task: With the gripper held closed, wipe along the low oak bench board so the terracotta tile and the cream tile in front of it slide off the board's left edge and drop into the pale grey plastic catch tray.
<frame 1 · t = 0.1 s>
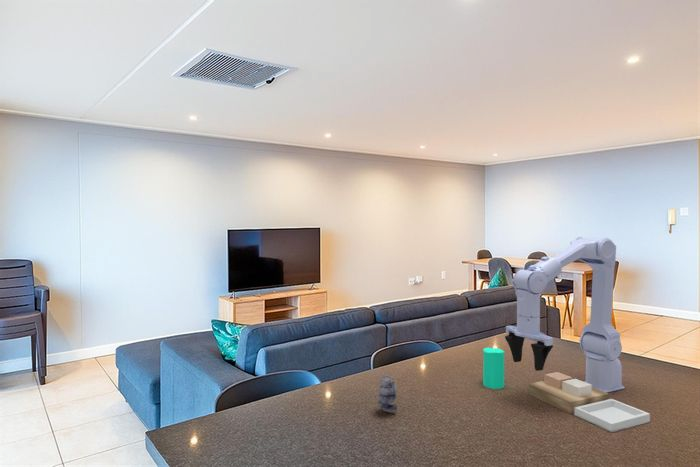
hand: (527, 365, 121), 10 cm above the counter, fingers open, 7 cm apart
grey stone figurine: (387, 413, 115), on the counter
catch tray: (611, 418, 111), on the counter
terracotta tile: (558, 384, 126), point 3 cm above the counter, touching bench board
bench board: (567, 399, 123), on the counter
cream tile: (576, 392, 120), point 3 cm above the counter, touching bench board
candle: (493, 385, 134), on the counter
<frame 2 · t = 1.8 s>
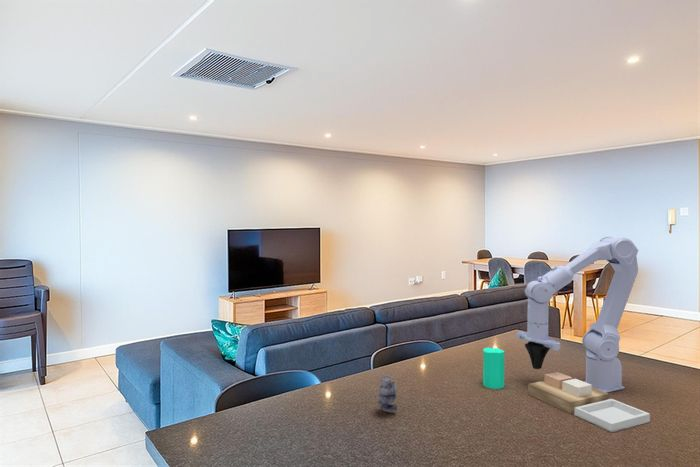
hand: (537, 368, 133), 5 cm above the counter, fingers closed
nothing on the counter moved.
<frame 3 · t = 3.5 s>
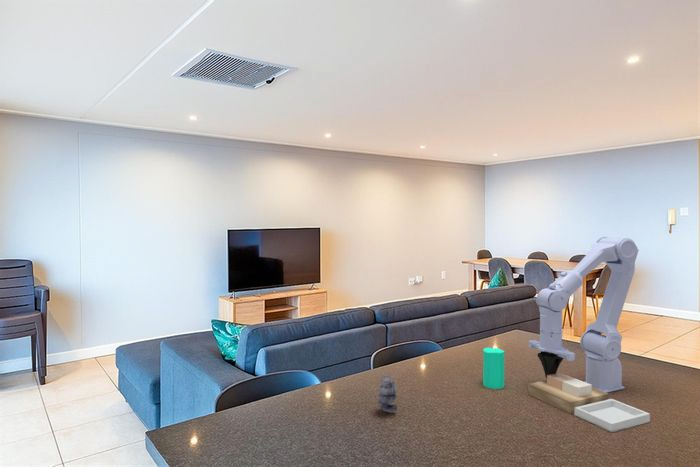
hand: (550, 378, 128), 4 cm above the counter, fingers closed
terracotta tile: (560, 385, 125), point 3 cm above the counter, touching bench board, gripper
everything else where it was.
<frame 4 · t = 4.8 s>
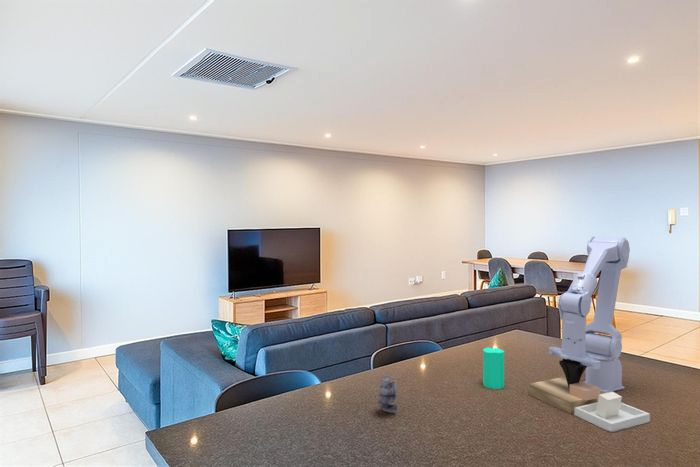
hand: (572, 387, 121), 4 cm above the counter, fingers closed
terracotta tile: (584, 395, 118), point 3 cm above the counter, touching bench board, gripper
cream tile: (604, 402, 113), point 3 cm above the counter, tilted 100°, touching catch tray
everything else where it was.
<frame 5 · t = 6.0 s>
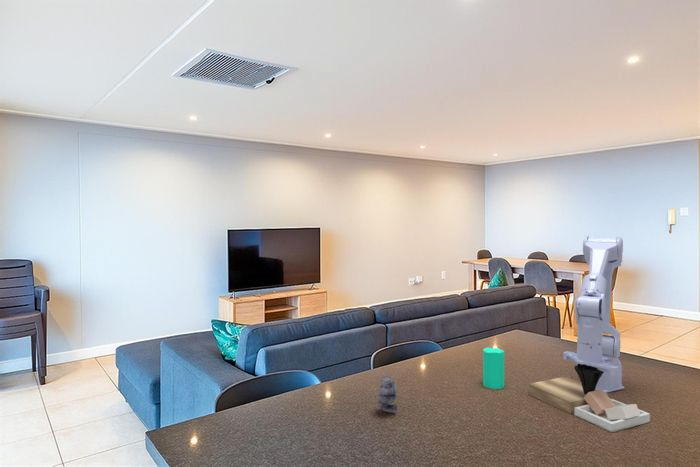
hand: (588, 394, 117), 4 cm above the counter, fingers closed
terracotta tile: (597, 404, 115), point 2 cm above the counter, tilted 36°, touching catch tray, gripper
cream tile: (620, 406, 110), point 4 cm above the counter, tilted 155°, touching catch tray
everything else where it was.
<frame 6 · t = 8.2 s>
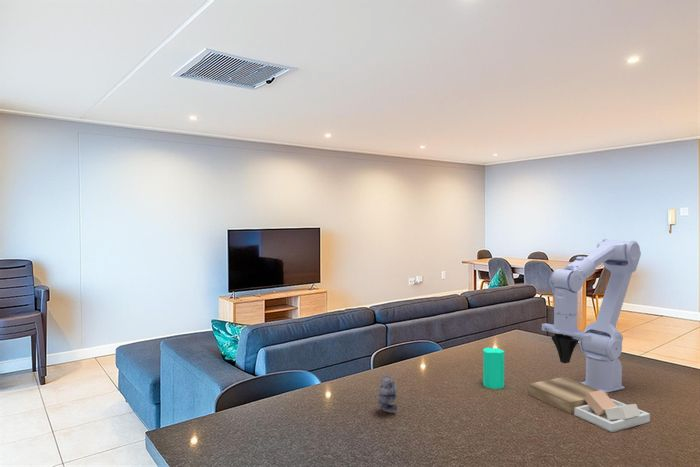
hand: (565, 362, 124), 10 cm above the counter, fingers closed
terracotta tile: (597, 405, 115), point 2 cm above the counter, tilted 33°, touching catch tray
everything else where it was.
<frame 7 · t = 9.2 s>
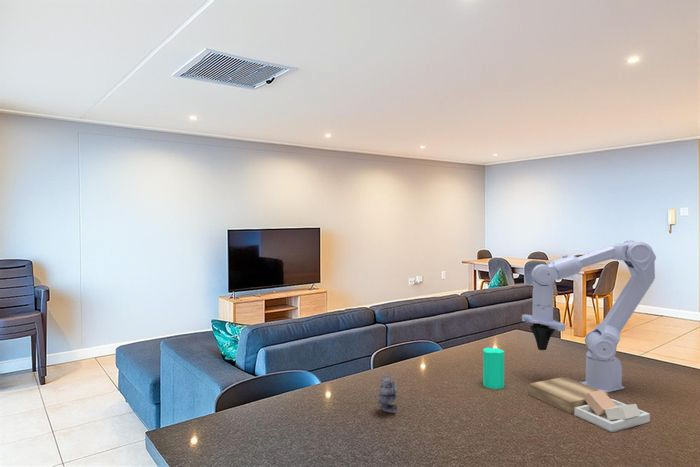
hand: (542, 349, 136), 10 cm above the counter, fingers closed
nothing on the counter moved.
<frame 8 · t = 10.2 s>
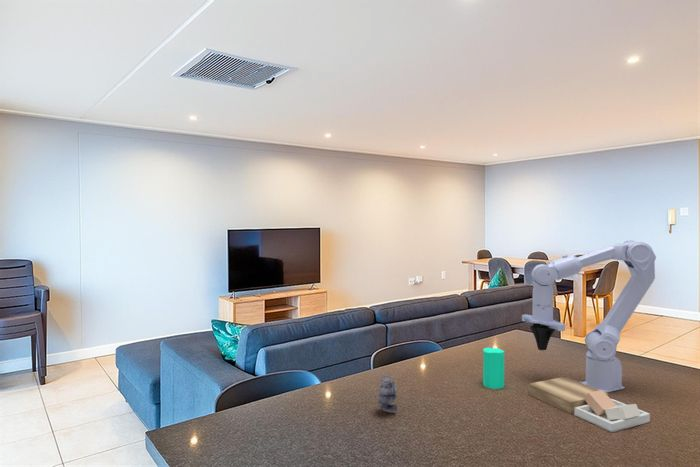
hand: (542, 349, 136), 10 cm above the counter, fingers closed
nothing on the counter moved.
at the end: terracotta tile inside the target area on the catch tray (3.8 cm from its centre), point 1.8 cm above the catch tray's base; cream tile inside the target area on the catch tray (2.0 cm from its centre), point 3.7 cm above the catch tray's base; terracotta tile moved 12.2 cm from its start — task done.
